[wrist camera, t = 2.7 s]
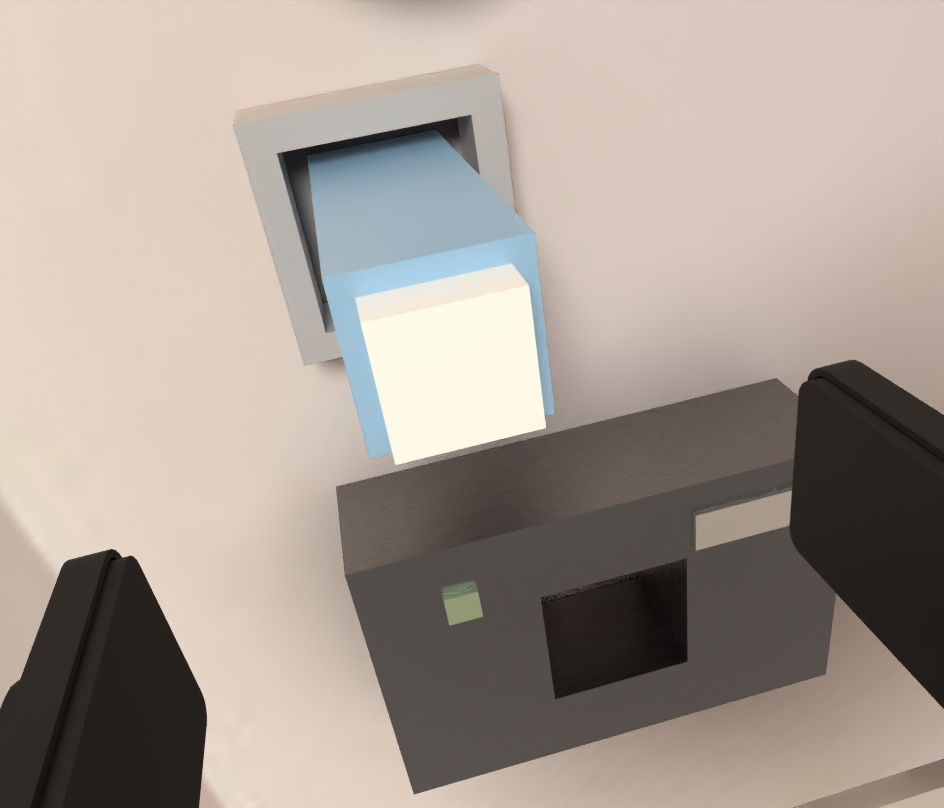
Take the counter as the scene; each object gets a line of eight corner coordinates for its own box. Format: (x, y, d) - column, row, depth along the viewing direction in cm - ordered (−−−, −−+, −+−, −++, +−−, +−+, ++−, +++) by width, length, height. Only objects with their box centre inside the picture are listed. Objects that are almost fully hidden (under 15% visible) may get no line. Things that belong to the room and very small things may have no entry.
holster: (478, 64, 23) (498, 73, 21) (508, 287, 27) (527, 314, 25) (238, 110, 22) (232, 125, 20) (302, 333, 26) (304, 365, 24)
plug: (435, 129, 24) (553, 252, 13) (456, 253, 26) (572, 443, 15) (306, 155, 23) (324, 303, 13) (338, 278, 25) (375, 491, 15)
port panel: (776, 378, 31) (860, 447, 27) (763, 593, 37) (829, 679, 33) (336, 487, 29) (345, 581, 25) (398, 694, 35) (415, 801, 31)
